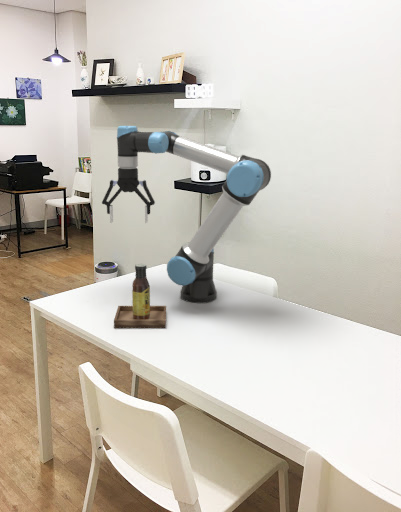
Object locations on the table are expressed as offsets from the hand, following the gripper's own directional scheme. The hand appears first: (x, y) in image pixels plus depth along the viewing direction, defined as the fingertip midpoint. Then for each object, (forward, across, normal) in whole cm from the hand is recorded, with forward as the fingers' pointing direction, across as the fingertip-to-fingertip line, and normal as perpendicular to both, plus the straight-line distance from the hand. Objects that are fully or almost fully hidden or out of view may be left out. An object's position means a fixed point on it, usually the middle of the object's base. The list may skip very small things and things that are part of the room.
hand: (129, 222), depth 192 cm
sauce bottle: (+31, -6, +23) cm, 39 cm away
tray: (+32, -6, +23) cm, 40 cm away
